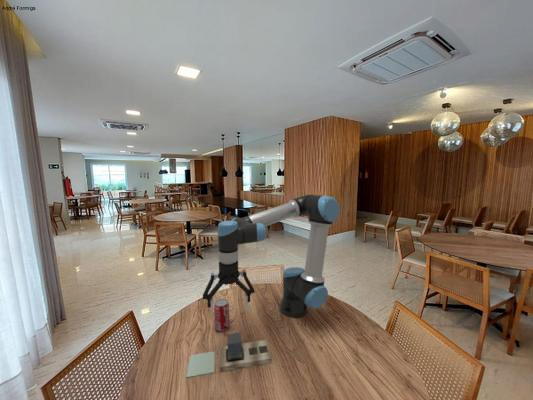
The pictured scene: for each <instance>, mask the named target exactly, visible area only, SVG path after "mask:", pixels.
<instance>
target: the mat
mask: <svg viewBox="0 0 533 400" xmlns="http://www.w3.org/2000/svg"><path fill="white" fill-rule="evenodd" d="M215 359H216V351H209V352H202V353H196V354H195V353H194V354H189V358H188V364H187V370H186V374H185V375H186V376H185V378H186V379H188V378H189V379H190V378H194V377H199V376H200V377H201V376H205V375H210V374H212V375H213V374H214V373H215V364H216V363H215Z"/></svg>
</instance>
